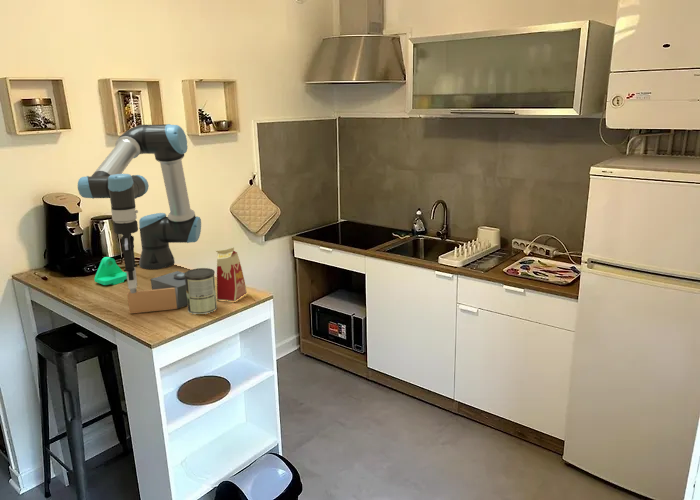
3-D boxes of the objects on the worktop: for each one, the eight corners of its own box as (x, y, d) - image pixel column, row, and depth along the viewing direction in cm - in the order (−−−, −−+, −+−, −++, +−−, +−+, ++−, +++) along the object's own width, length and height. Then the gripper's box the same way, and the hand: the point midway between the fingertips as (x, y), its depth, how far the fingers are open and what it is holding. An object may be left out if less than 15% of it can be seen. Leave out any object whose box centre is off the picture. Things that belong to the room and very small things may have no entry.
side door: (130, 312, 189) (124, 270, 185) (179, 307, 194) (175, 265, 189) (129, 314, 187) (124, 271, 183) (179, 309, 192) (175, 267, 187)
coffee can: (181, 310, 191) (178, 273, 188) (205, 302, 199) (202, 266, 195) (199, 317, 185) (195, 278, 181) (223, 308, 193) (220, 271, 189)
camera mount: (105, 287, 216) (102, 263, 213) (95, 284, 220) (91, 260, 217) (132, 280, 225) (129, 256, 222) (121, 276, 229) (118, 253, 227)
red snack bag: (247, 294, 207) (244, 244, 201) (236, 303, 198) (232, 251, 193) (225, 292, 209) (222, 243, 204) (213, 300, 201) (209, 249, 195)
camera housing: (179, 290, 212) (177, 268, 209) (206, 298, 203) (204, 275, 200) (152, 299, 203) (150, 276, 200) (179, 308, 194) (177, 284, 191)
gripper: (135, 224, 174) (143, 293, 180) (138, 215, 188) (145, 279, 194) (110, 226, 172) (119, 295, 178) (115, 216, 185) (123, 281, 192)
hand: (132, 286), depth 186 cm, fingers closed on side door, 2 cm apart
